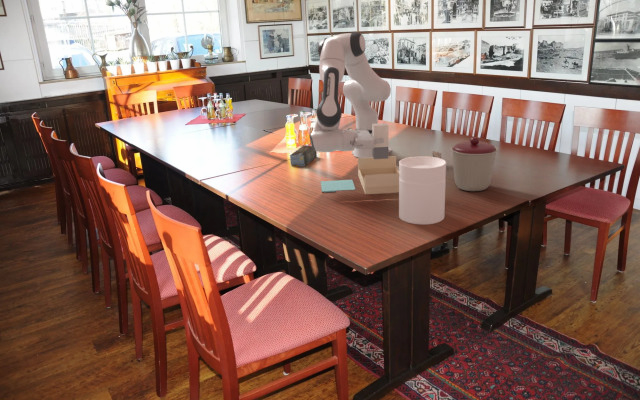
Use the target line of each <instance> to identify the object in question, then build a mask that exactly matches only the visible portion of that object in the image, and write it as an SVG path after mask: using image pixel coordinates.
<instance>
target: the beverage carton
mask: <svg viewBox="0 0 640 400" xmlns="http://www.w3.org/2000/svg"><path fill="white" fill-rule="evenodd" d="M317 153H318V152H317V151H315V150H314V149H313V148H312V145H302V146H301V147H299V148H298V149H297V150H295V151H294V152H293V153H291V154H290V155H289V159H290V161H289V162H290V166H291V165H299V166H298V167H306V166H307V165H308V163H309V162H310V163H311V162H313V160H314V159H316V158H317V157H318V155H317ZM310 163H309V164H310ZM305 165H306V166H305Z"/></svg>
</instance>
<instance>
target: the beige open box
mask: <svg viewBox="0 0 640 400" xmlns="http://www.w3.org/2000/svg"><path fill="white" fill-rule="evenodd" d="M357 173H358V174H357V175H358V178H359V181H360V184H361V187H362V188H363V192H364V194H365V195H377V194H378V195H380V194H399V168H397V156H396V155H394V156H393V155H392V156H388V159H374V158H373V157H371V158H358V157H357Z"/></svg>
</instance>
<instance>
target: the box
mask: <svg viewBox="0 0 640 400" xmlns="http://www.w3.org/2000/svg"><path fill="white" fill-rule="evenodd" d="M372 138H373V139H379V138H383V139H384V143H378V144H374V148H373V149H372V152H373V158H374V159H388V157H389V153H388V148H389V124H388V123H387V122H381V123H379V122H378V123H377V124H372Z"/></svg>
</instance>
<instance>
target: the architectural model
mask: <svg viewBox="0 0 640 400" xmlns="http://www.w3.org/2000/svg"><path fill="white" fill-rule="evenodd" d="M431 154H432V157H437V158H441V159H442V152H438V151H435V150H432V152H431Z"/></svg>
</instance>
